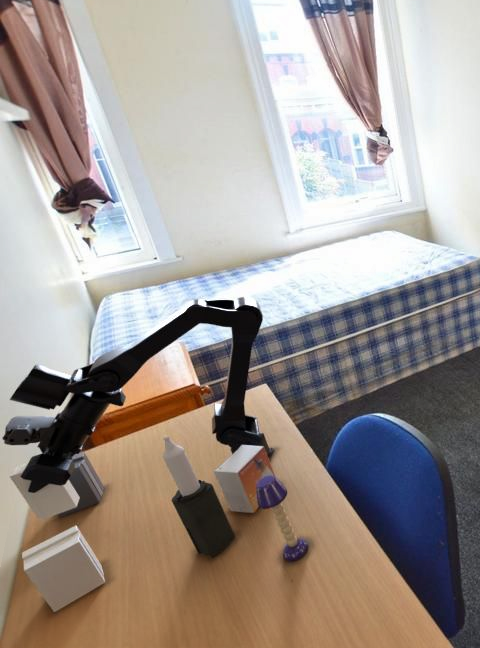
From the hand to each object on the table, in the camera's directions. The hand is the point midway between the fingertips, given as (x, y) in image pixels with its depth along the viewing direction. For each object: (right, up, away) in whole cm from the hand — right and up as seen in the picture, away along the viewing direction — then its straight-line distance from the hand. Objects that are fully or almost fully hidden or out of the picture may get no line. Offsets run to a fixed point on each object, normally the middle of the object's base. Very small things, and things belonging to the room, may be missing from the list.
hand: (34, 486), depth 88 cm
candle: (+35, -11, -1) cm, 36 cm away
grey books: (-3, -8, +13) cm, 16 cm away
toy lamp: (+51, -10, -4) cm, 52 cm away
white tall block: (+2, -6, +3) cm, 7 cm away
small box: (+37, -6, +9) cm, 38 cm away
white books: (+15, -15, -7) cm, 22 cm away
